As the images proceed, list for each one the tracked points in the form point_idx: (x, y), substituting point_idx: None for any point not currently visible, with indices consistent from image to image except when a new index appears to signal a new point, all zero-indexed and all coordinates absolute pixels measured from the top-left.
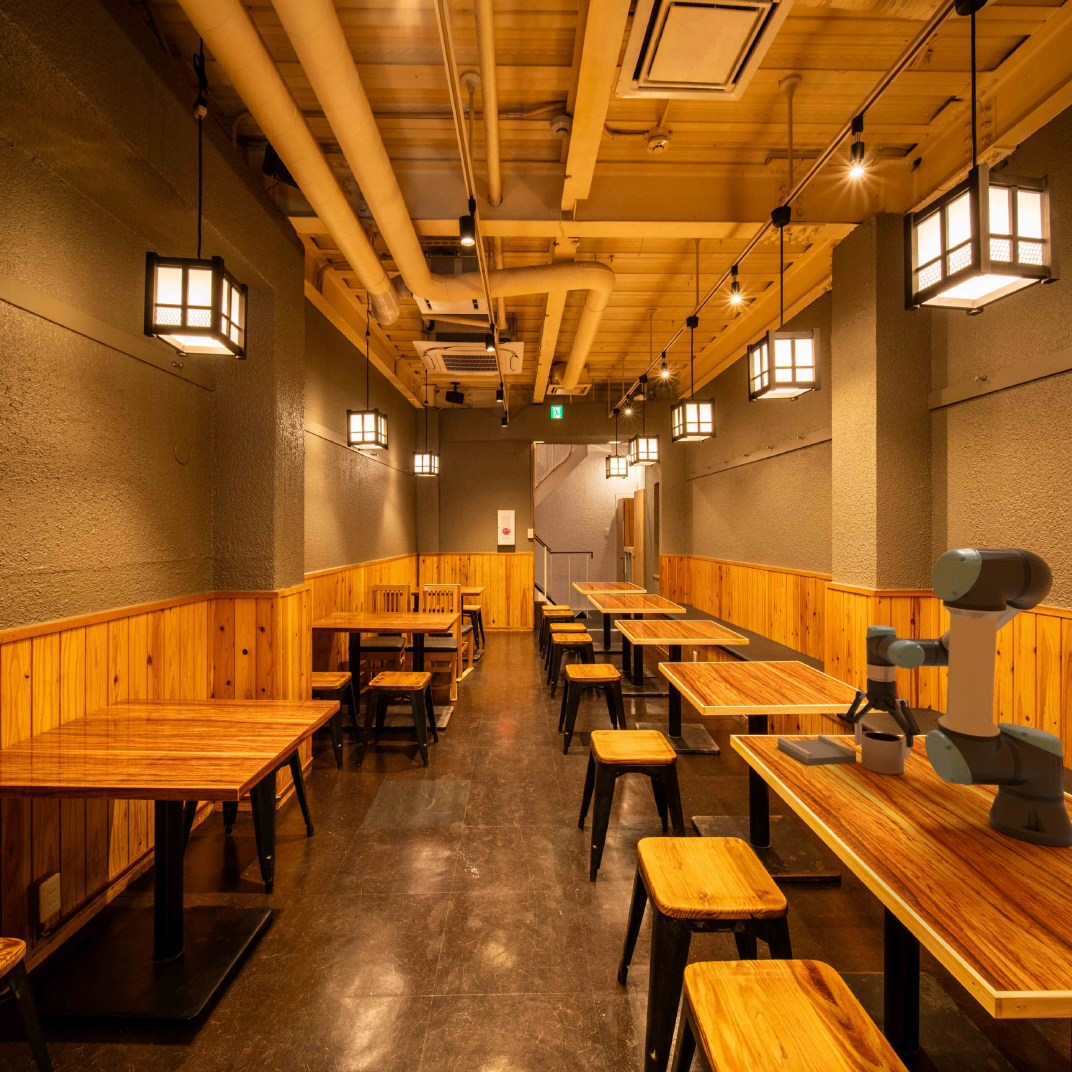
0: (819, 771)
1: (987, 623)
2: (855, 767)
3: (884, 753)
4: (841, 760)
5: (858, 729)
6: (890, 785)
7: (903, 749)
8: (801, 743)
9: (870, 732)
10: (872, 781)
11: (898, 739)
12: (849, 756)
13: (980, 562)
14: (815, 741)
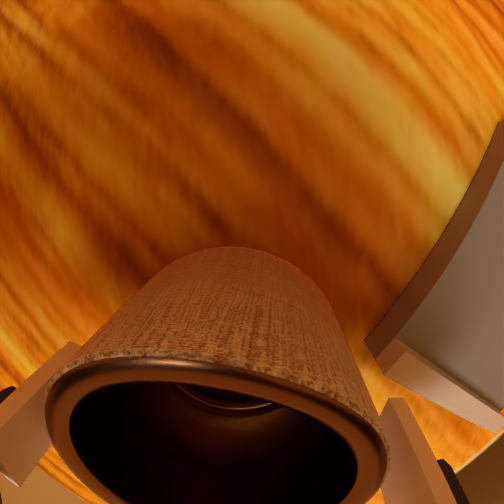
0: (444, 69)
1: None
2: (350, 260)
3: (144, 299)
4: (426, 274)
5: (415, 494)
6: (124, 115)
7: (46, 377)
8: None
9: None
10: (206, 96)
11: (125, 491)
12: (403, 323)
13: None
14: None
